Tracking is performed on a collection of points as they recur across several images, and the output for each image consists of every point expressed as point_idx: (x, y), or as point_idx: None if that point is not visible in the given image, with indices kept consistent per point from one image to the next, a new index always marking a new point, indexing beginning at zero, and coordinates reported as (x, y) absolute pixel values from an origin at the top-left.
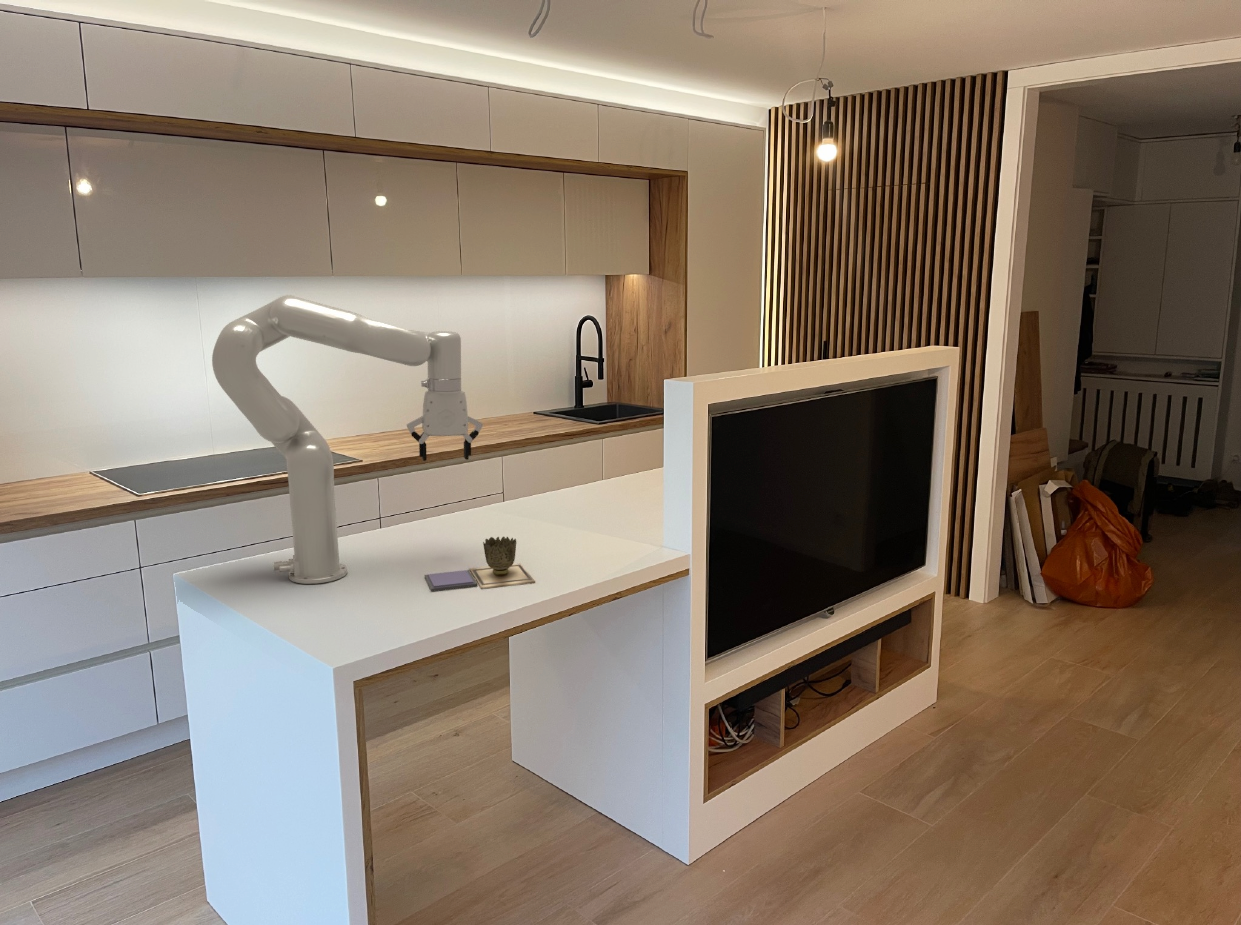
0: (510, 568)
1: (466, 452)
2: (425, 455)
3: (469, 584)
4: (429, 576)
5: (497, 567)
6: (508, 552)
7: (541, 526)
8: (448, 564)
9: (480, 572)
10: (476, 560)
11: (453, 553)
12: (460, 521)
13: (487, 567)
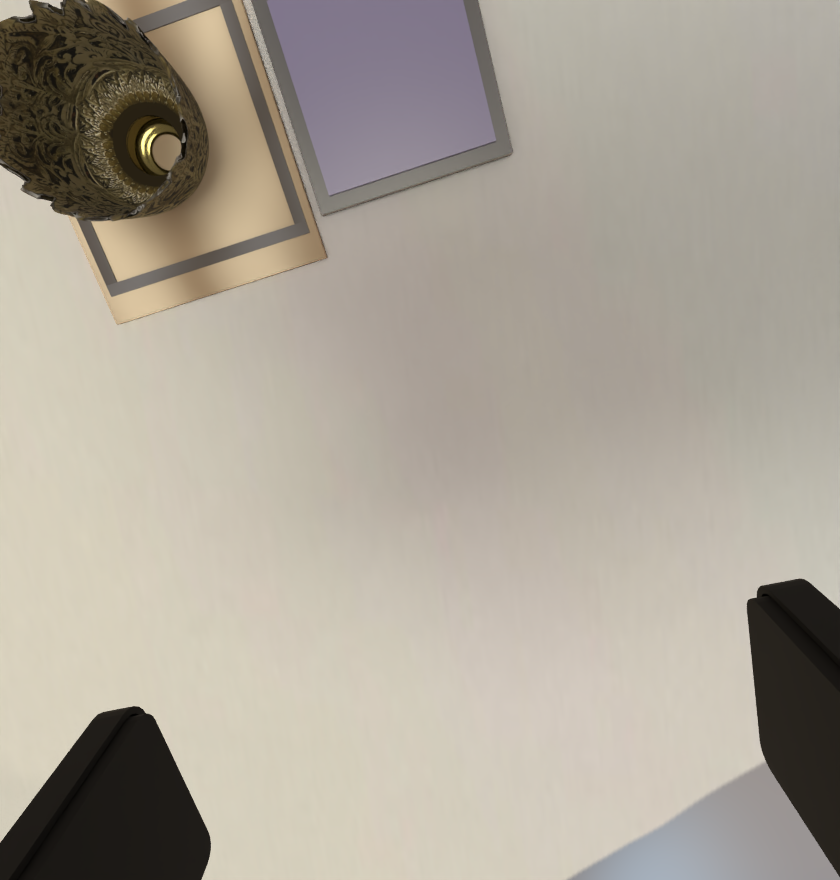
0: (144, 246)
1: (64, 796)
2: (817, 636)
3: None
4: (485, 102)
5: (146, 72)
6: (39, 42)
7: None
8: (429, 347)
9: (267, 193)
10: (319, 395)
11: (427, 494)
12: (451, 867)
13: (249, 268)
